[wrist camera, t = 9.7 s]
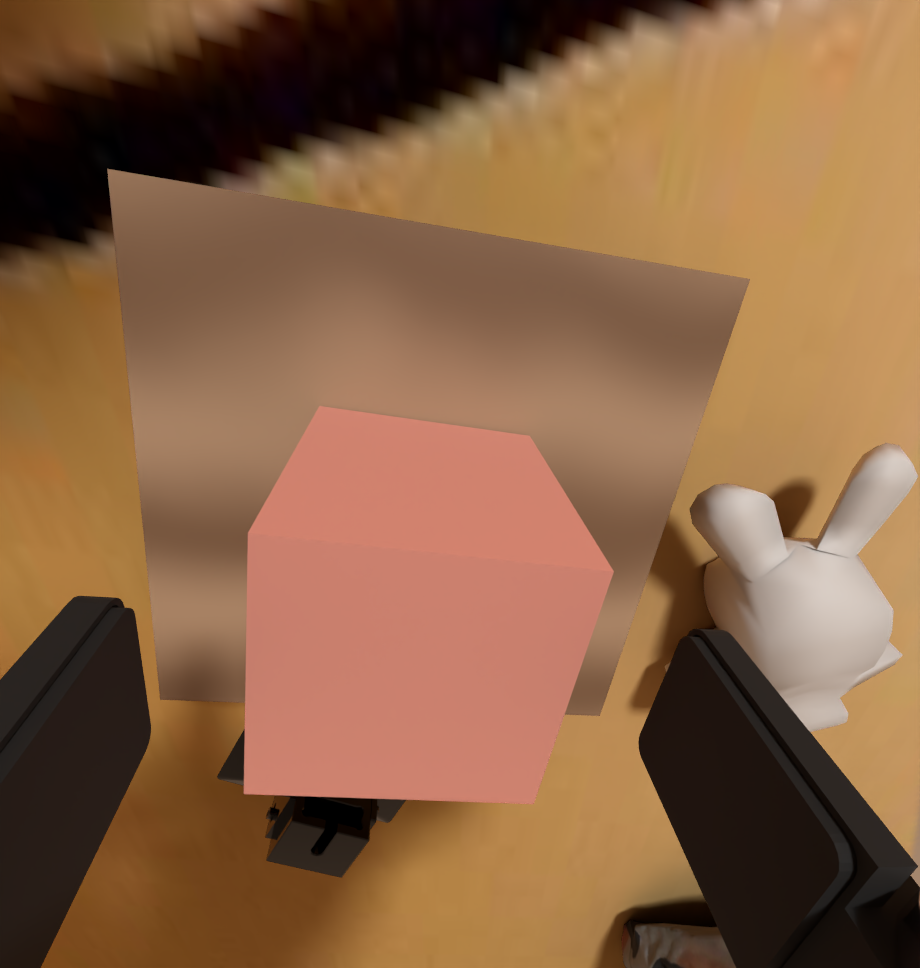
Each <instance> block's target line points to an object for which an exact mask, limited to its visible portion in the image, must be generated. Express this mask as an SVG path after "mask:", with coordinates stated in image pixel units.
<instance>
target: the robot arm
mask: <svg viewBox="0 0 920 968" xmlns="http://www.w3.org/2000/svg"><path fill="white" fill-rule="evenodd" d="M150 734H151V723H150V716H149V709H148V702H147V695H146V688H145V681H144V674H143V667H142V660H141V653H140V646H139V639H138V632H137V625H136V618H135V613H134V611H133V609H131V608H124V605H123V602H122V601H121V599H119V598H109V597H91V596H77V597H74V598H73V599H72V600H71V601H70V602H69V603H68V604H67V605H66V606H65V607H64V608H63V609H62V610H61V612H60V613H59V614H58V615H57V616H56V617H55V618H54V620H53V621H52V622H51V623H50V624H49V625H48V626H47V628H46V629H45V630H44V631H43V632H42V633H41V634H40V635H39V637H38V638H37V639H36V640H35V641H34V642H33V643H32V645H31V646H30V647H29V648H28V649H27V650H26V651H25V652H24V654H23V655H22V656H21V657H20V658H19V659H18V660H17V662H16V663H15V664H14V665H13V666H12V667H11V668H10V669H9V671H8V672H7V673H6V674H5V675H4V676H3V677H2V679H1V680H0V968H41V966H42V963H43V961H44V959H45V957H46V955H47V953H48V951H49V949H50V947H51V945H52V943H53V941H54V939H55V937H56V935H57V933H58V931H59V929H60V926H61V924H62V922H63V920H64V918H65V916H66V914H67V912H68V910H69V908H70V906H71V904H72V902H73V900H74V898H75V896H76V894H77V891H78V889H79V887H80V885H81V883H82V881H83V879H84V877H85V875H86V873H87V871H88V869H89V867H90V865H91V863H92V861H93V859H94V857H95V854H96V852H97V850H98V848H99V846H100V844H101V842H102V840H103V838H104V836H105V834H106V832H107V830H108V828H109V826H110V824H111V822H112V819H113V817H114V815H115V813H116V811H117V809H118V807H119V805H120V803H121V801H122V799H123V797H124V795H125V793H126V791H127V789H128V787H129V785H130V782H131V780H132V778H133V776H134V774H135V772H136V770H137V768H138V766H139V764H140V762H141V760H142V758H143V756H144V754H145V751H146V749H147V746H148V743H149V739H150ZM639 751H640V755H641V758H642V760H643V762H644V764H645V767H646V769H647V771H648V773H649V776H650V778H651V780H652V782H653V784H654V787H655V789H656V791H657V793H658V796H659V798H660V800H661V802H662V804H663V807H664V809H665V811H666V813H667V816H668V818H669V820H670V822H671V824H672V827H673V829H674V831H675V833H676V836H677V838H678V840H679V842H680V844H681V847H682V849H683V851H684V853H685V856H686V858H687V860H688V862H689V865H690V867H691V869H692V871H693V873H694V876H695V878H696V880H697V882H698V885H699V887H700V889H701V891H702V893H703V896H704V898H705V900H706V902H707V905H708V907H709V909H710V911H711V913H712V916H713V918H714V920H715V922H716V925H717V927H718V929H719V931H720V933H721V936H722V938H723V940H724V942H725V945H726V947H727V949H728V951H729V953H730V956H731V958H732V960H733V962H734V964H735V966H736V968H920V887H919V886H918V885H917V883H916V882H915V881H914V879H913V878H912V877H911V876H910V875H911V874H912V873H913V872H914V871H915V869H916V868H917V867H918V866H917V864H916V863H915V862H914V861H913V859H912V858H911V857H910V856H909V854H908V853H907V852H906V851H905V850H904V848H903V847H902V846H901V845H900V843H899V842H898V841H897V840H896V838H895V837H894V836H893V835H892V833H891V832H890V831H889V830H888V828H887V827H886V826H885V825H884V823H883V822H882V821H881V820H880V818H879V817H878V816H877V815H876V813H875V812H874V811H873V810H872V809H871V807H870V806H869V805H868V804H867V802H866V801H865V800H864V799H863V797H862V796H861V795H860V794H859V792H858V791H857V790H856V789H855V787H854V786H853V785H852V784H851V782H850V781H849V780H848V779H847V777H846V776H845V775H844V774H843V772H842V771H841V770H840V769H839V767H838V766H837V765H836V764H835V763H834V761H833V760H832V759H831V758H830V756H829V755H828V754H827V753H826V751H825V750H824V749H823V748H822V746H821V745H820V744H819V743H818V741H817V740H816V739H815V738H814V736H813V735H812V734H811V733H810V731H809V730H808V729H807V728H806V726H805V725H804V724H803V723H802V722H801V720H800V719H799V718H798V717H797V715H796V714H795V713H794V712H793V710H792V709H791V708H790V707H789V705H788V704H787V703H786V702H785V700H784V699H783V698H782V697H781V695H780V694H779V693H778V692H777V690H776V689H775V688H774V687H773V685H772V684H771V683H770V682H769V681H768V679H767V678H766V677H765V676H764V674H763V673H762V672H761V671H760V669H759V668H758V667H757V666H756V664H755V663H754V662H753V661H752V659H751V658H750V657H749V656H748V654H747V653H746V652H745V651H744V649H743V648H742V647H741V646H740V644H739V643H738V642H737V641H736V639H735V638H734V637H733V636H732V635H731V634H730V633H729V632H727V631H724V630H711V629H693V630H692V631H690V632H689V634H688V635H687V636H686V637H683V638H682V639H681V640H680V642H679V644H678V646H677V649H676V651H675V653H674V656H673V658H672V660H671V663H670V665H669V667H668V670H667V672H666V675H665V677H664V679H663V682H662V684H661V686H660V689H659V691H658V693H657V696H656V698H655V700H654V703H653V705H652V707H651V710H650V712H649V715H648V717H647V719H646V722H645V724H644V726H643V729H642V731H641V733H640V736H639Z"/></svg>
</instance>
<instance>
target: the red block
mask: <svg viewBox="0 0 920 968" xmlns="http://www.w3.org/2000/svg"><path fill="white" fill-rule="evenodd" d="M613 573H614V571H613V569H612V568H611V566H610V564H609V563H608V561H607V560H606V558H605V556H604V555H603V553H602V552H601V550H600V548H599V547H598V545H597V544H596V542H595V540H594V539H593V537H592V535H591V534H590V532H589V531H588V529H587V527H586V526H585V524H584V523H583V521H582V519H581V518H580V516H579V514H578V513H577V511H576V510H575V508H574V506H573V505H572V503H571V502H570V500H569V498H568V497H567V495H566V493H565V492H564V490H563V489H562V487H561V485H560V484H559V482H558V481H557V479H556V477H555V476H554V474H553V472H552V471H551V469H550V468H549V466H548V464H547V463H546V461H545V460H544V458H543V456H542V455H541V453H540V451H539V450H538V448H537V447H536V445H535V443H534V442H533V440H532V439H531V437H530V436H528V435H521V434H514V433H507V432H500V431H493V430H486V429H479V428H472V427H464V426H457V425H450V424H443V423H436V422H429V421H422V420H415V419H408V418H401V417H394V416H387V415H380V414H373V413H366V412H359V411H352V410H345V409H338V408H331V407H324V406H319V408H318V409H317V411H316V413H315V415H314V416H313V418H312V420H311V422H310V424H309V425H308V427H307V429H306V431H305V432H304V434H303V436H302V438H301V440H300V441H299V443H298V445H297V447H296V448H295V450H294V452H293V454H292V456H291V457H290V459H289V461H288V463H287V464H286V466H285V468H284V470H283V471H282V473H281V475H280V477H279V479H278V480H277V482H276V484H275V486H274V487H273V489H272V491H271V493H270V495H269V496H268V498H267V500H266V502H265V503H264V505H263V507H262V509H261V511H260V512H259V514H258V516H257V518H256V519H255V521H254V523H253V525H252V527H251V528H250V530H249V532H248V553H247V618H246V683H245V747H244V794H256V795H285V796H314V797H343V798H372V799H401V800H430V801H459V802H488V803H517V804H534V801H535V799H536V796H537V793H538V790H539V787H540V784H541V781H542V778H543V775H544V772H545V770H546V767H547V764H548V761H549V758H550V755H551V752H552V749H553V746H554V744H555V741H556V738H557V735H558V732H559V729H560V726H561V723H562V720H563V717H564V715H565V712H566V709H567V706H568V703H569V700H570V697H571V694H572V691H573V689H574V686H575V683H576V680H577V677H578V674H579V671H580V668H581V665H582V662H583V660H584V657H585V654H586V651H587V648H588V645H589V642H590V639H591V636H592V634H593V631H594V628H595V625H596V622H597V619H598V616H599V613H600V610H601V607H602V605H603V602H604V599H605V596H606V593H607V590H608V587H609V584H610V581H611V579H612V576H613Z"/></svg>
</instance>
